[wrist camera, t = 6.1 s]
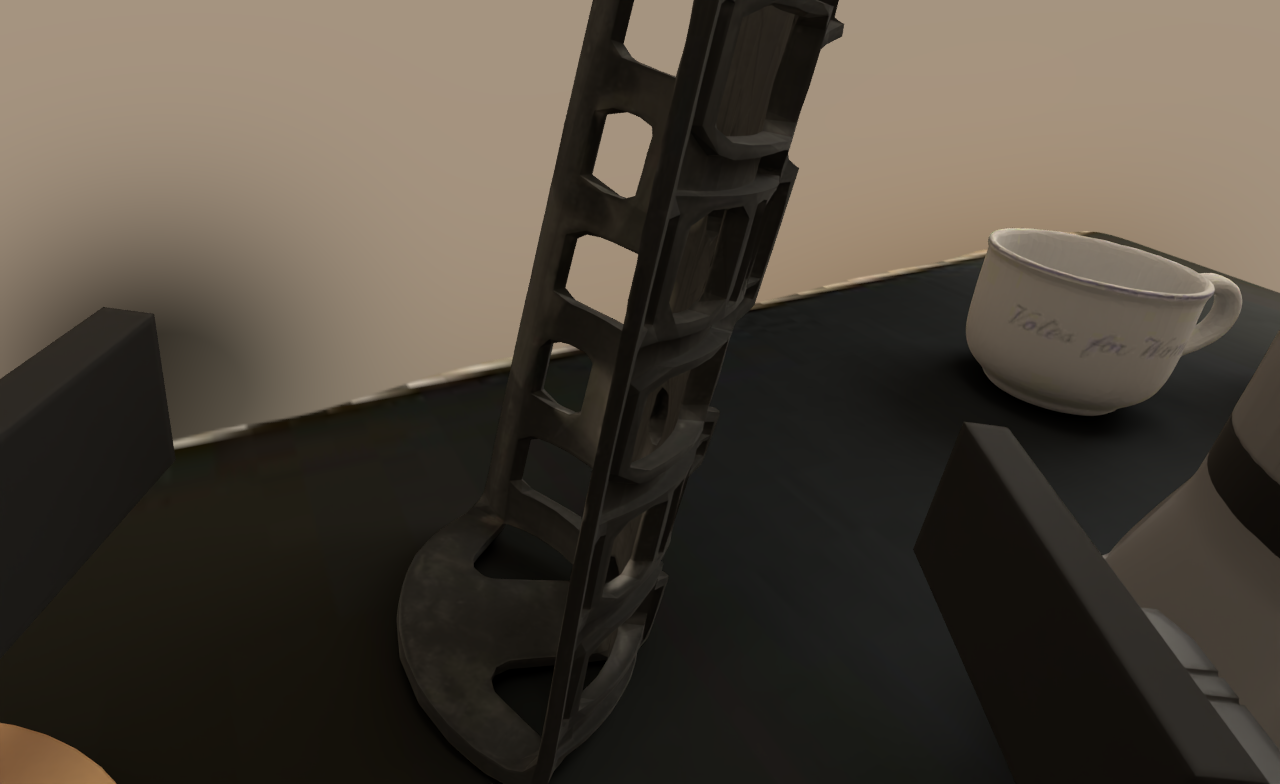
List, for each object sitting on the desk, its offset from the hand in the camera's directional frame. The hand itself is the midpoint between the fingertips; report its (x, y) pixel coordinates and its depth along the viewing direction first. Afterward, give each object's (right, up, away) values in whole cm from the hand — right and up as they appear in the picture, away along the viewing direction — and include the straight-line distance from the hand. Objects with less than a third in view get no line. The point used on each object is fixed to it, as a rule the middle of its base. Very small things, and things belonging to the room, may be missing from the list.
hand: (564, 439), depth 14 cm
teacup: (+25, +1, +33) cm, 41 cm away
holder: (-2, -7, +12) cm, 14 cm away
